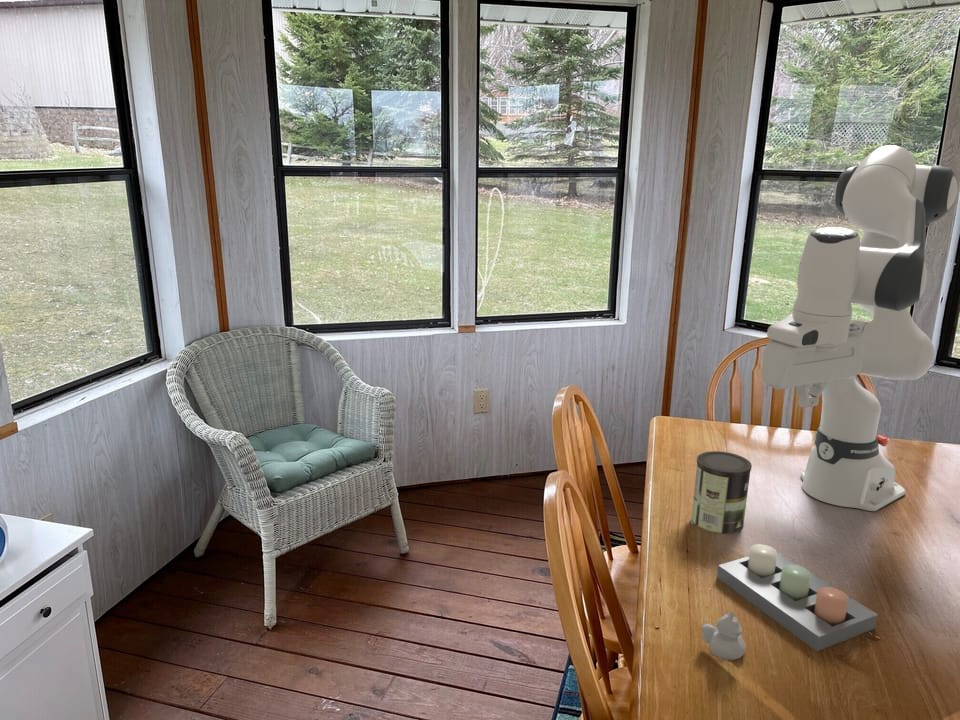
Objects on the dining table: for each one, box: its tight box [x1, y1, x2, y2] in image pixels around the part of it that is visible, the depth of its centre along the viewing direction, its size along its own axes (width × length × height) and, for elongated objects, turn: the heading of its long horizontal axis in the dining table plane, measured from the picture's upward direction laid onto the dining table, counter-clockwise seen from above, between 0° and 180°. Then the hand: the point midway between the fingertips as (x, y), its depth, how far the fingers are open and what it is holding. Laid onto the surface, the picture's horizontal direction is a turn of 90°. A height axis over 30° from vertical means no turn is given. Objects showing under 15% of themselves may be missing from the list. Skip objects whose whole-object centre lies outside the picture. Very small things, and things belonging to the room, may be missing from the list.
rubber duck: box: [701, 610, 747, 662], centre depth 108 cm, size 5×7×8 cm
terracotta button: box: [814, 587, 849, 627], centre depth 113 cm, size 4×4×5 cm
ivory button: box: [748, 543, 778, 578], centre depth 125 cm, size 4×4×5 cm
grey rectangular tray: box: [716, 551, 879, 652], centre depth 120 cm, size 13×21×4 cm, turn 26°
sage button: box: [779, 564, 812, 601], centre depth 119 cm, size 4×4×5 cm
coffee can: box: [690, 450, 752, 535], centre depth 144 cm, size 10×10×14 cm
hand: (807, 405), depth 124 cm, fingers closed
